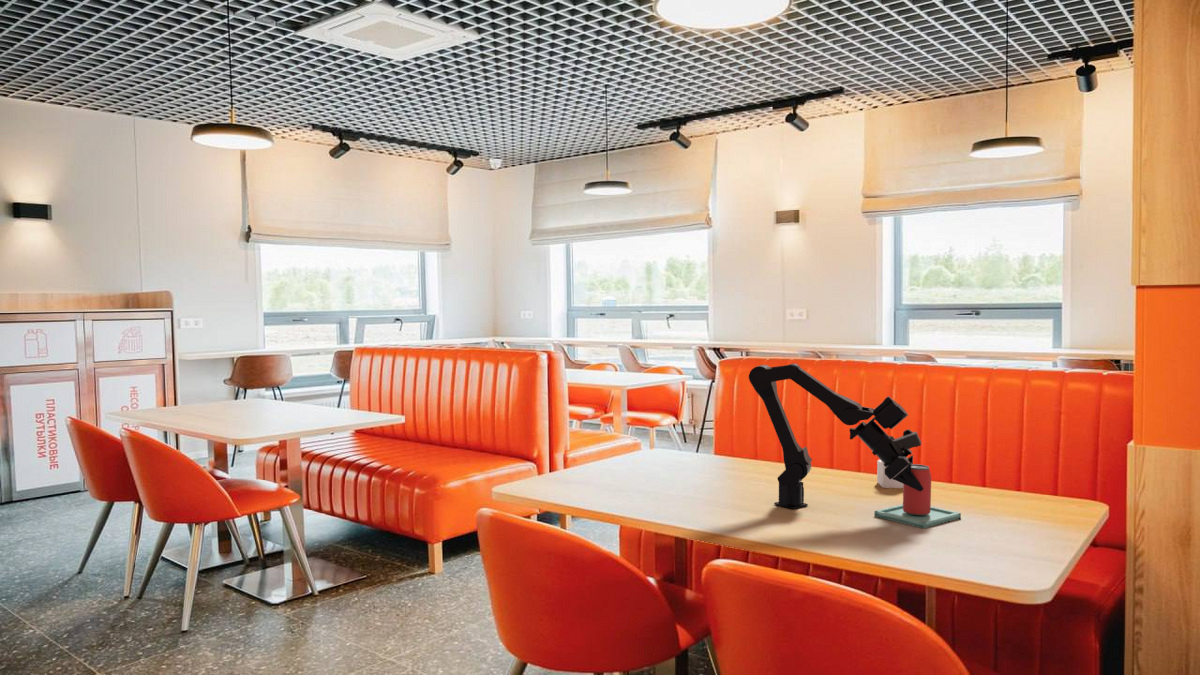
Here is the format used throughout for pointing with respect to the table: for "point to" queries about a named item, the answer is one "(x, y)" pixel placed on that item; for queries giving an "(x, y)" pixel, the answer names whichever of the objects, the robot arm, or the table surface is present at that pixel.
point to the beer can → (918, 492)
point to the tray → (924, 521)
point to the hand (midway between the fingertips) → (922, 487)
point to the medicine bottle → (883, 479)
